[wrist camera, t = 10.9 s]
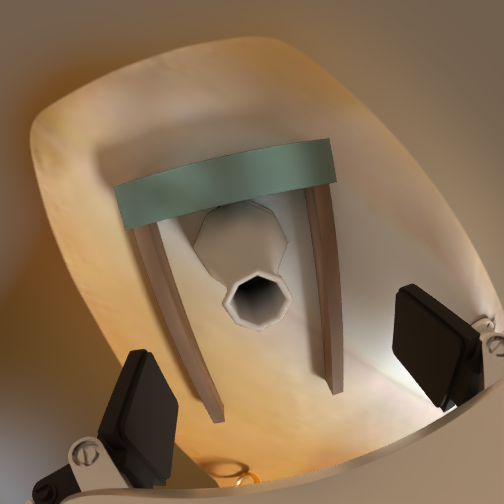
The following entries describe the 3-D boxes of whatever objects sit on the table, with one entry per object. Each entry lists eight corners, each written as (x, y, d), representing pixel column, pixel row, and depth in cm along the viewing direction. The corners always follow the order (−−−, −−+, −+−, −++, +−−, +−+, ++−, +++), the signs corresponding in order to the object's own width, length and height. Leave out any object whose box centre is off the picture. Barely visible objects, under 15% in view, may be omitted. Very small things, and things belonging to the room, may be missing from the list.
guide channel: (310, 142, 20) (329, 138, 17) (335, 377, 28) (347, 400, 25) (131, 182, 20) (113, 187, 16) (213, 407, 28) (214, 433, 24)
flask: (243, 300, 24) (260, 379, 14) (177, 247, 22) (151, 308, 12) (302, 239, 23) (356, 291, 13) (238, 179, 21) (255, 191, 11)
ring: (240, 481, 35) (244, 517, 28) (224, 478, 34) (228, 515, 27) (265, 467, 34) (273, 506, 26) (250, 464, 33) (256, 505, 26)
